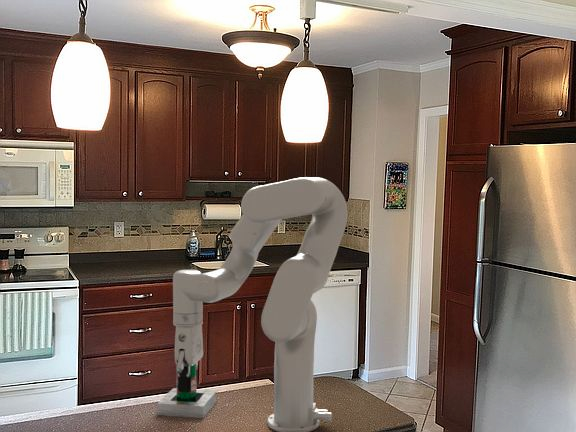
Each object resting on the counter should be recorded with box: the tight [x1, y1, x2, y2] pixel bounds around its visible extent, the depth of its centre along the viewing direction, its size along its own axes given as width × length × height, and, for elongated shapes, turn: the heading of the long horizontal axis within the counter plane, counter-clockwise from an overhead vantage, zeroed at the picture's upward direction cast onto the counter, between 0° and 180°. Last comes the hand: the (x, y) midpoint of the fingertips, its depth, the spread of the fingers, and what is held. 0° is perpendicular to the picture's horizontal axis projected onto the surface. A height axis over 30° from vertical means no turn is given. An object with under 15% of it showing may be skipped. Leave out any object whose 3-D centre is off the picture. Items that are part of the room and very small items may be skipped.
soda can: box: [175, 362, 197, 402], centre depth 161 cm, size 5×5×12 cm
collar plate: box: [156, 387, 217, 419], centre depth 162 cm, size 12×12×3 cm
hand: (188, 387), depth 161 cm, fingers closed on soda can, 5 cm apart
